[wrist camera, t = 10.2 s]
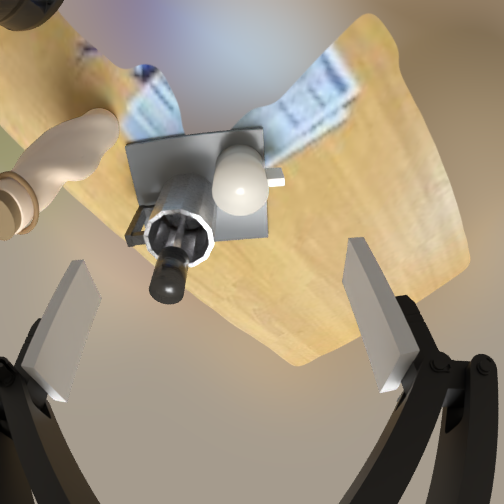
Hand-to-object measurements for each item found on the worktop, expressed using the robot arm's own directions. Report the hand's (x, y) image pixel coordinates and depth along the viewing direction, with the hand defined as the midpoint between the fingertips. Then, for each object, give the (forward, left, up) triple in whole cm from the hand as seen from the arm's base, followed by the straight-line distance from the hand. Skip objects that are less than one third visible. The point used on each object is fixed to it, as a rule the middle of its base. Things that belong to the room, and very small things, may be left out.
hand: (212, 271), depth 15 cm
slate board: (+13, -6, -37) cm, 39 cm away
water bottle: (0, -22, -37) cm, 43 cm away
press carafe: (+14, -10, -36) cm, 40 cm away
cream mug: (+9, +2, -36) cm, 37 cm away
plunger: (+14, -8, -33) cm, 37 cm away
